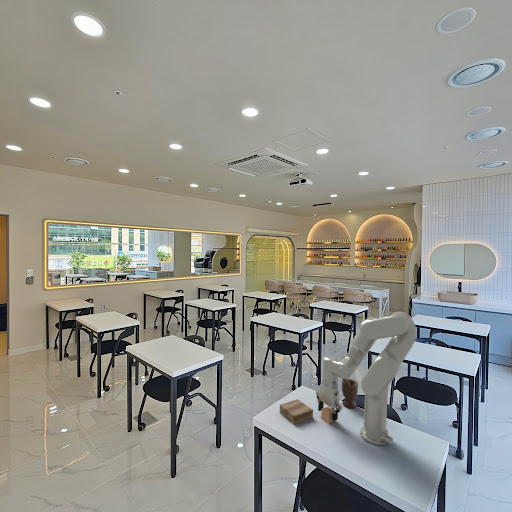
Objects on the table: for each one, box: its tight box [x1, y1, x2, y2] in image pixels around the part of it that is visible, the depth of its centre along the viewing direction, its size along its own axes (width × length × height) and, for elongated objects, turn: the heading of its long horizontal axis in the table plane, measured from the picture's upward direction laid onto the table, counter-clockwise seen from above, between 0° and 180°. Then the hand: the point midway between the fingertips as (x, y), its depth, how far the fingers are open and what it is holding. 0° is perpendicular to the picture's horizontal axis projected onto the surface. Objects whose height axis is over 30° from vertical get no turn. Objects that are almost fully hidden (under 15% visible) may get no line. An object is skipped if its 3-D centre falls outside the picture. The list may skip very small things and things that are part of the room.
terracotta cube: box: [320, 406, 337, 424], centre depth 146 cm, size 5×5×5 cm
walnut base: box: [279, 398, 314, 425], centre depth 149 cm, size 12×12×4 cm
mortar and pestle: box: [341, 378, 359, 409], centre depth 159 cm, size 12×9×20 cm
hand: (327, 415), depth 146 cm, fingers open, 9 cm apart
